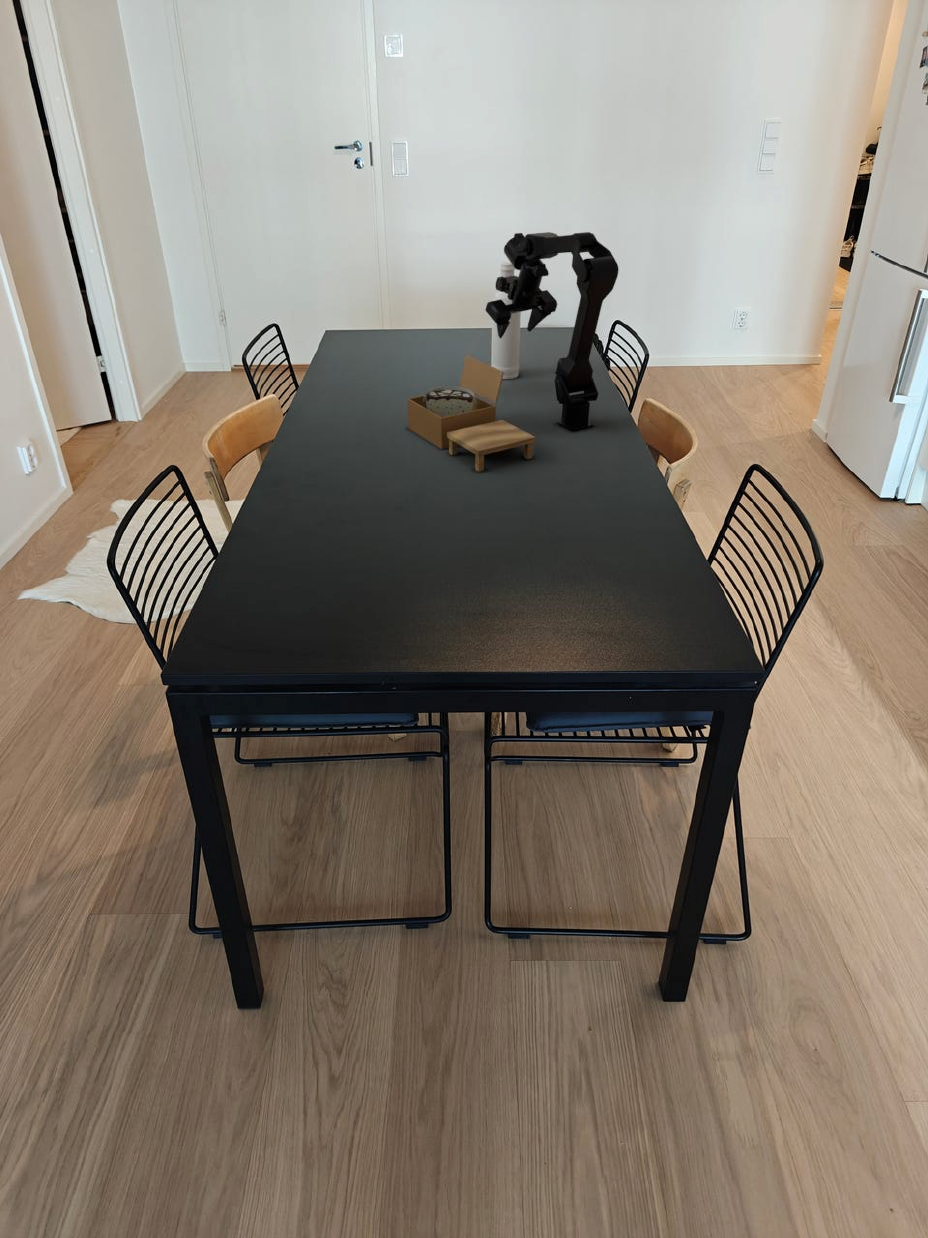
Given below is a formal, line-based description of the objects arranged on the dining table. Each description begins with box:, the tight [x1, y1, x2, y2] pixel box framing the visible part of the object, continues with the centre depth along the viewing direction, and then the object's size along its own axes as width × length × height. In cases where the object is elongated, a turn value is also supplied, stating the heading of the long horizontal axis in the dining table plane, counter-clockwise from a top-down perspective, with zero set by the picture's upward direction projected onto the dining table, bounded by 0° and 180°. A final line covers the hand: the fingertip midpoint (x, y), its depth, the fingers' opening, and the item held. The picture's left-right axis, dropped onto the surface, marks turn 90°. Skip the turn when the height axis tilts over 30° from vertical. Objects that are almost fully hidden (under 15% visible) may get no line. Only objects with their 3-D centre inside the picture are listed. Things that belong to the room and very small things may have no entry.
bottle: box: [490, 260, 522, 380], centre depth 229 cm, size 8×8×30 cm
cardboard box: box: [406, 394, 497, 450], centre depth 198 cm, size 15×16×7 cm
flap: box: [459, 354, 504, 404], centre depth 198 cm, size 7×16×1 cm
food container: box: [423, 385, 476, 417], centre depth 197 cm, size 12×6×10 cm, turn 84°
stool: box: [447, 419, 536, 473], centre depth 187 cm, size 13×15×5 cm
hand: (514, 333), depth 220 cm, fingers open, 9 cm apart
